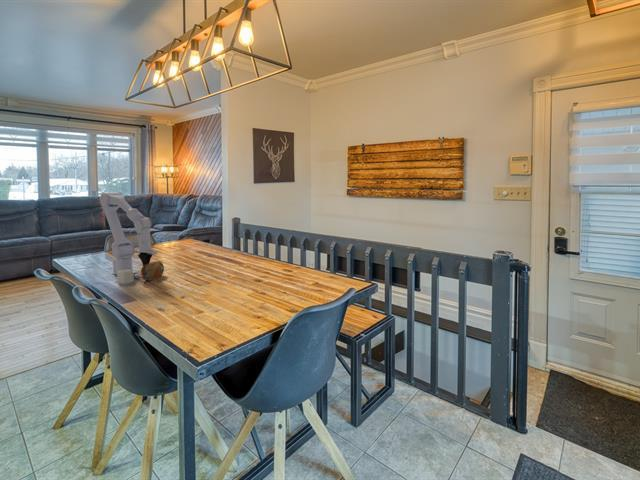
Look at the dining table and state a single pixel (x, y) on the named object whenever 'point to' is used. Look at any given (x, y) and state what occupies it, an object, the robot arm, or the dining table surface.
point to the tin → (152, 270)
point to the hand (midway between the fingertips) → (146, 267)
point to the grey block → (125, 276)
